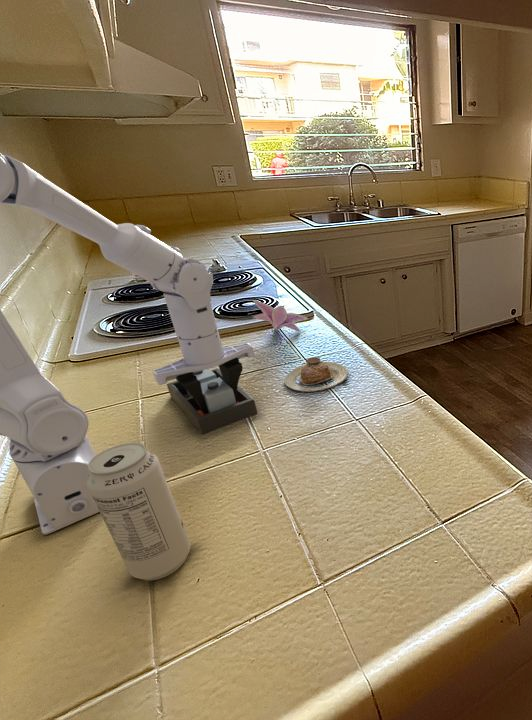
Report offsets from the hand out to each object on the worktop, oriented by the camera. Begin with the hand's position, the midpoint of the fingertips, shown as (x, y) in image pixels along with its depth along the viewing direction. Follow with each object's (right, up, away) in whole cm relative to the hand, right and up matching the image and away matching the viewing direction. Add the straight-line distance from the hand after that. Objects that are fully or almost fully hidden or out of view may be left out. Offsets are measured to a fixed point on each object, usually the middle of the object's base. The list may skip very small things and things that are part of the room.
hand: (219, 405), depth 79 cm
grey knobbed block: (0, -1, +1) cm, 1 cm away
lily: (-3, +13, +32) cm, 35 cm away
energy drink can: (+8, -16, -26) cm, 31 cm away
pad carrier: (-3, -1, +3) cm, 5 cm away
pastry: (+13, +4, +13) cm, 18 cm away
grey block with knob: (-6, +1, +6) cm, 8 cm away
